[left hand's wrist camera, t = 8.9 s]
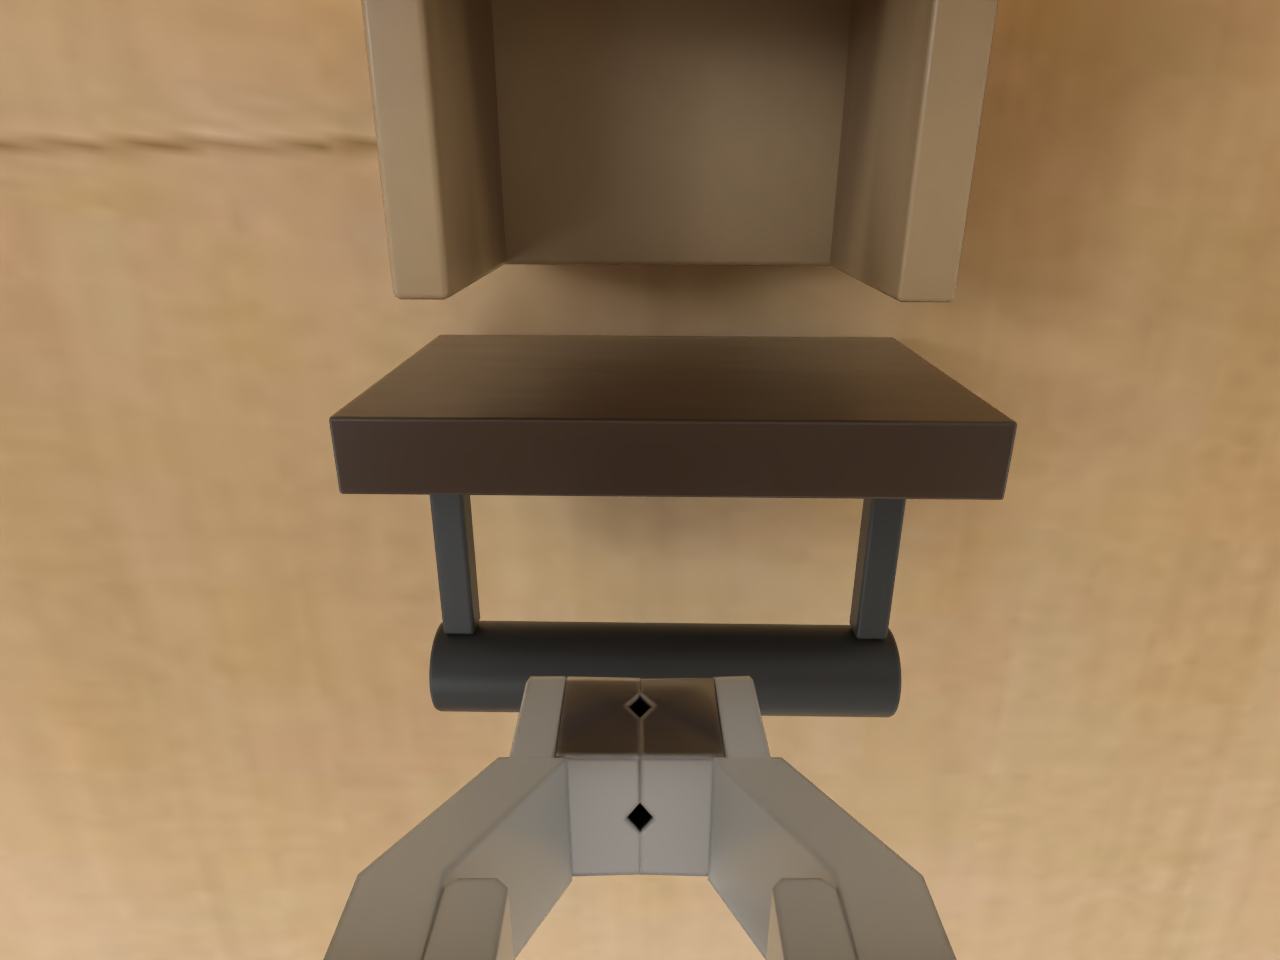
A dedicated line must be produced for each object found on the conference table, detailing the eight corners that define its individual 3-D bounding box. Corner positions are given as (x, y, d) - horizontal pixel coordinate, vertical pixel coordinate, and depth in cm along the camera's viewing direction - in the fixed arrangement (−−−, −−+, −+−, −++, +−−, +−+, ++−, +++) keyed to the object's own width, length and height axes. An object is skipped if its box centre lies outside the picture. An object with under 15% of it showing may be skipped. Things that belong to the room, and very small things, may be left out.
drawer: (861, 608, 19) (949, 794, 13) (463, 603, 19) (381, 786, 14) (1004, -581, 12) (1342, -1307, 6) (356, -572, 12) (77, -1272, 6)
